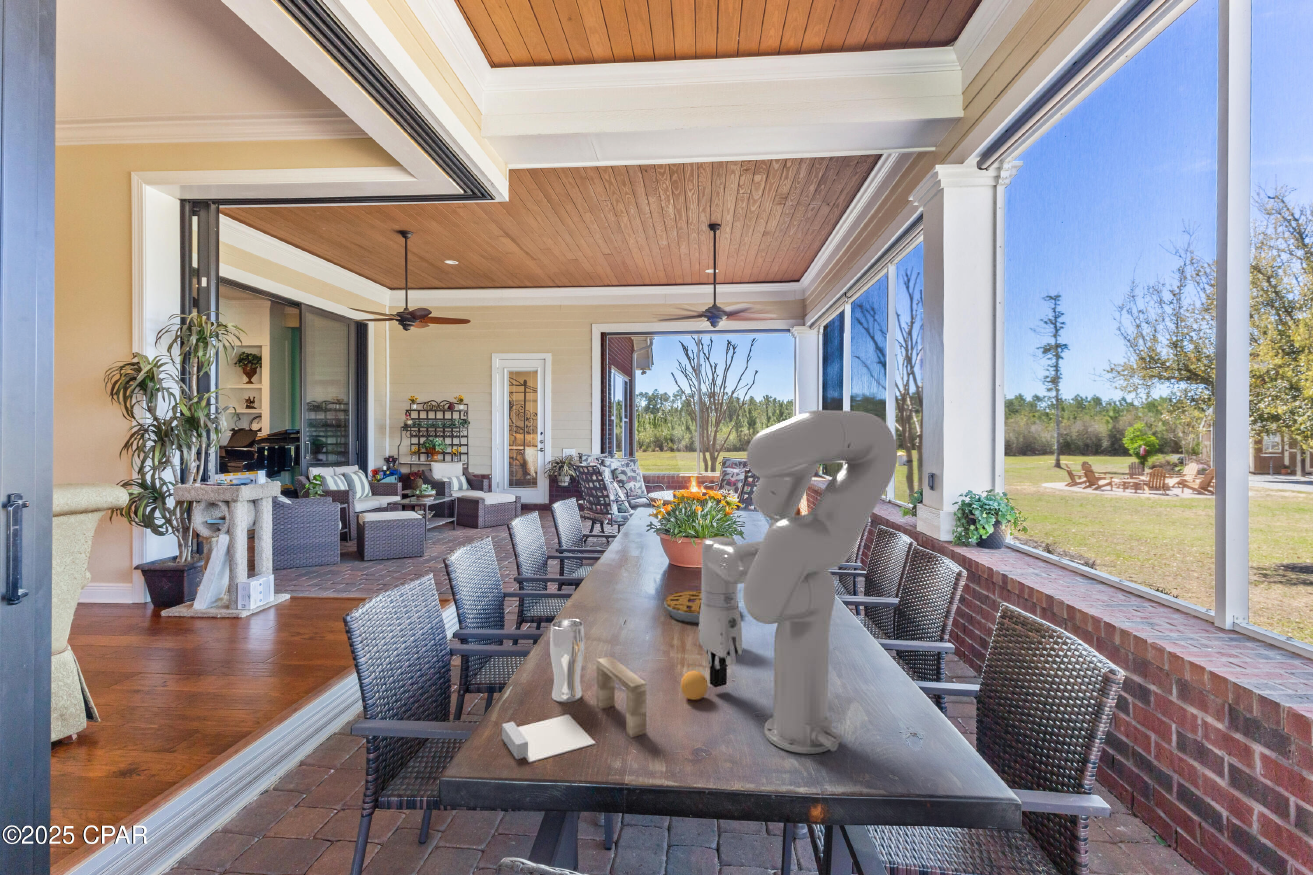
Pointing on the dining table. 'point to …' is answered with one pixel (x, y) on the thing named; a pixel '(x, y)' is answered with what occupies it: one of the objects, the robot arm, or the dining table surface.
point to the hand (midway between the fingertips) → (718, 684)
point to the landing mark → (554, 737)
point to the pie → (684, 606)
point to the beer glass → (567, 658)
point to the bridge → (634, 699)
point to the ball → (694, 685)
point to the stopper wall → (515, 740)
